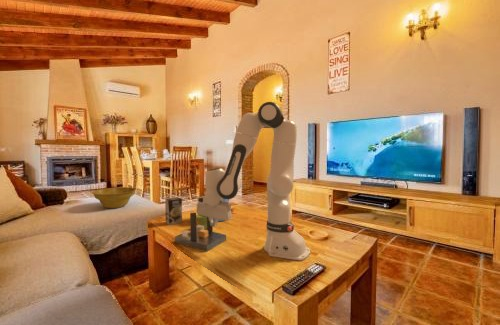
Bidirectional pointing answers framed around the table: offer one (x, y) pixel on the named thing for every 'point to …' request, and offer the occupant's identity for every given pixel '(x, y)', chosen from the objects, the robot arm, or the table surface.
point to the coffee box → (173, 210)
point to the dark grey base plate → (200, 239)
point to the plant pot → (202, 221)
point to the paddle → (203, 233)
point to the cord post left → (193, 226)
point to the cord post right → (209, 228)
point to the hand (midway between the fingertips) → (213, 225)
